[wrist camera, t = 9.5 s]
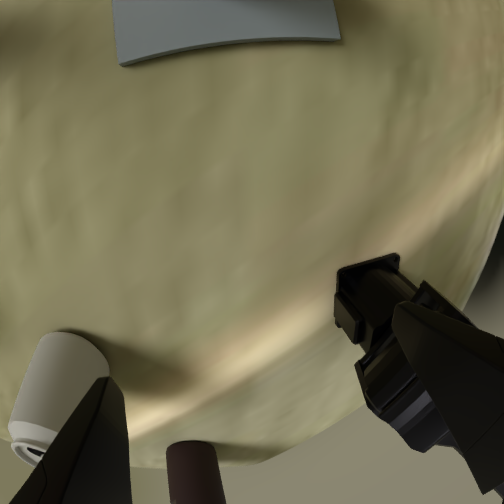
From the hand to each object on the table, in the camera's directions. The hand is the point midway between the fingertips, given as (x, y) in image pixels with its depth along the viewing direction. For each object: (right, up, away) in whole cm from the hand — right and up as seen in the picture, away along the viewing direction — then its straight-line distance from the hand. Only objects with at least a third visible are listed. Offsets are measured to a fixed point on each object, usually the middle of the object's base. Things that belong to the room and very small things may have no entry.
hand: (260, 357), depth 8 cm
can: (-17, -7, +14) cm, 23 cm away
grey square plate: (-2, +22, +3) cm, 22 cm away
